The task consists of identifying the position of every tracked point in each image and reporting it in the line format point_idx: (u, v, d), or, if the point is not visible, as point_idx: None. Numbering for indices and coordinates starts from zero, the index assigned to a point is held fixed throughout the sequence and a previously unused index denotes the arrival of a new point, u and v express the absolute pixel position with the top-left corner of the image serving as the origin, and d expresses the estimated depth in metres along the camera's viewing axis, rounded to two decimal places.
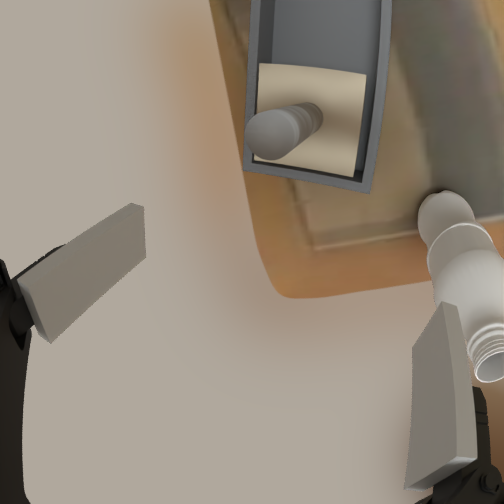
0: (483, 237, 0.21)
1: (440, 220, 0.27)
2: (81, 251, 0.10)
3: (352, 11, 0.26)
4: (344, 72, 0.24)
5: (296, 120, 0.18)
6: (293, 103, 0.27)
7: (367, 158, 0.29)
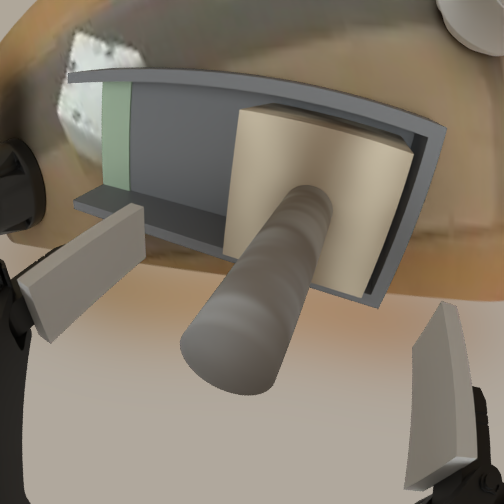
0: None
1: (480, 11, 0.09)
2: (81, 251, 0.10)
3: (183, 113, 0.25)
4: (237, 141, 0.18)
5: (224, 289, 0.10)
6: None
7: (387, 121, 0.16)
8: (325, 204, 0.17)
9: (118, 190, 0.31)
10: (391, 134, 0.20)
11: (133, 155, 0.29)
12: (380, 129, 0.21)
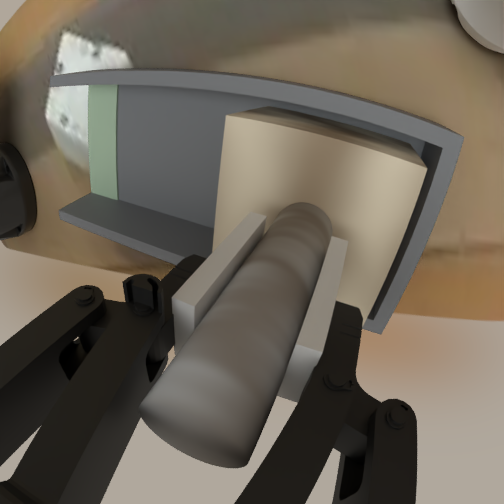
0: None
1: (502, 4, 0.07)
2: (231, 263, 0.11)
3: (171, 117, 0.23)
4: (223, 152, 0.16)
5: (190, 351, 0.08)
6: None
7: (396, 128, 0.14)
8: (323, 226, 0.14)
9: (105, 199, 0.29)
10: (400, 142, 0.17)
11: (120, 162, 0.27)
12: (387, 136, 0.18)
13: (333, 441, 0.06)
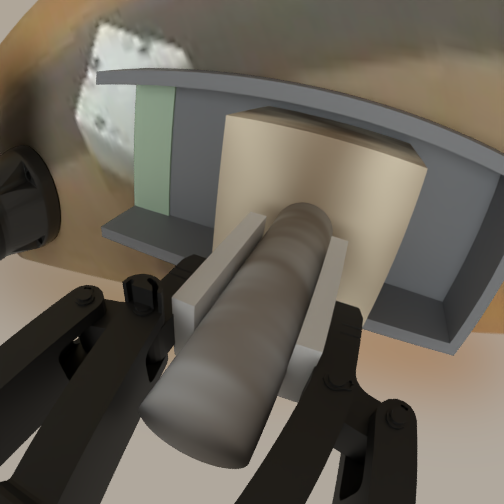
0: None
1: None
2: (231, 263, 0.11)
3: None
4: (224, 152, 0.16)
5: (190, 351, 0.08)
6: None
7: (499, 170, 0.13)
8: (324, 226, 0.14)
9: (154, 214, 0.28)
10: (400, 142, 0.17)
11: (175, 175, 0.26)
12: (387, 136, 0.18)
13: (333, 441, 0.06)
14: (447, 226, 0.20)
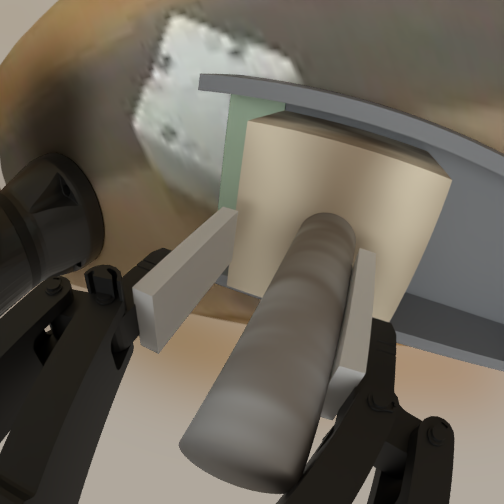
0: None
1: None
2: (194, 256, 0.11)
3: None
4: (244, 159, 0.15)
5: (233, 380, 0.07)
6: None
7: None
8: (349, 238, 0.14)
9: None
10: (418, 150, 0.17)
11: None
12: (405, 143, 0.18)
13: (372, 462, 0.05)
14: None
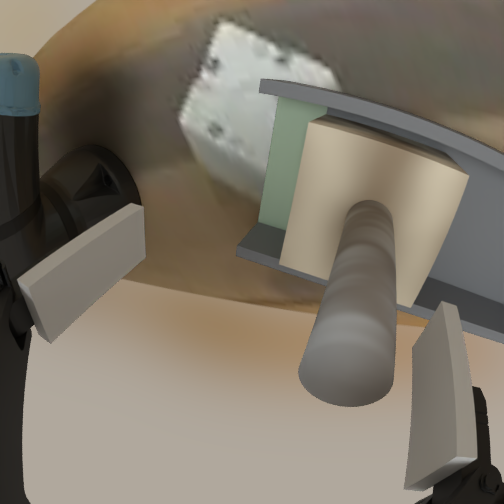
0: None
1: None
2: (81, 251, 0.10)
3: None
4: (304, 154, 0.18)
5: (340, 308, 0.10)
6: None
7: None
8: (390, 220, 0.17)
9: (284, 232, 0.28)
10: (439, 151, 0.19)
11: None
12: (428, 146, 0.20)
13: None
14: None
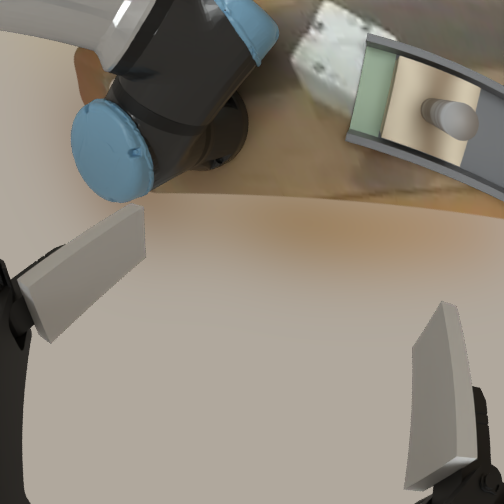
0: None
1: None
2: (81, 251, 0.10)
3: None
4: (397, 71, 0.27)
5: (450, 102, 0.19)
6: (420, 119, 0.29)
7: None
8: None
9: (369, 134, 0.38)
10: None
11: None
12: None
13: None
14: None
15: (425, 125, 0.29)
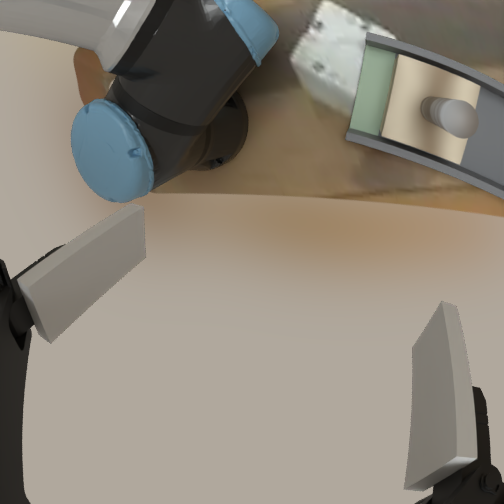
0: None
1: None
2: (81, 251, 0.10)
3: None
4: (397, 70, 0.27)
5: (449, 99, 0.19)
6: (420, 117, 0.29)
7: None
8: None
9: (369, 133, 0.38)
10: None
11: None
12: None
13: None
14: None
15: (425, 124, 0.29)
